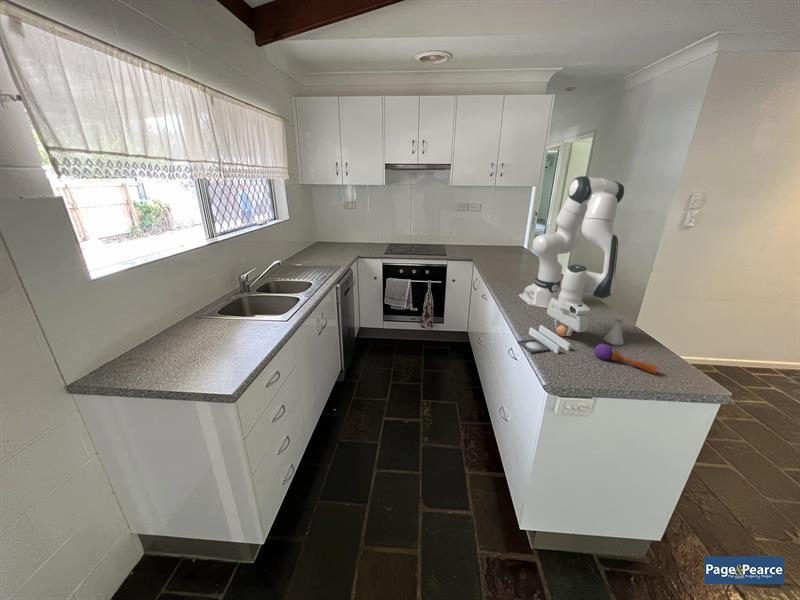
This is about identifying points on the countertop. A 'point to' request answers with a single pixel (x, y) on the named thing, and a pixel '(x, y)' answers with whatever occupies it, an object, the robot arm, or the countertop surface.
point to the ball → (562, 330)
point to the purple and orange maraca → (621, 358)
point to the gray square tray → (533, 345)
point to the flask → (615, 333)
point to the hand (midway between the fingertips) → (562, 332)
